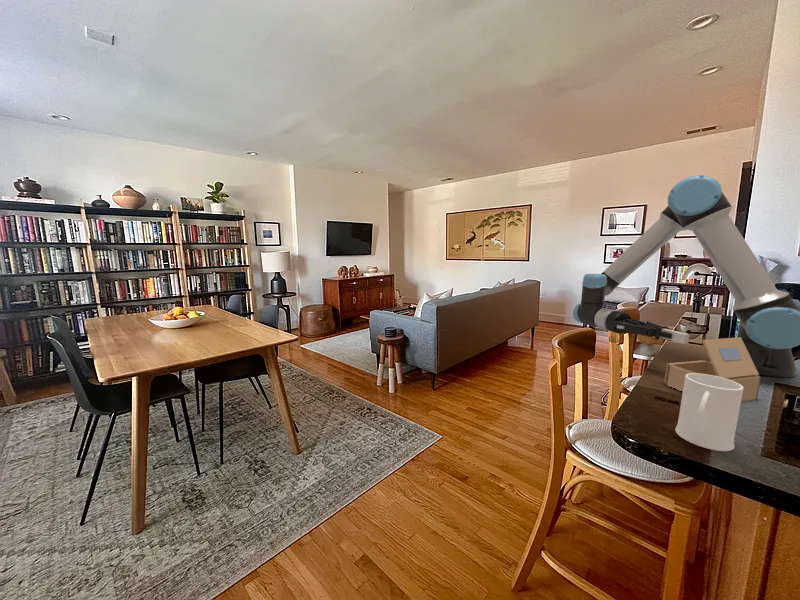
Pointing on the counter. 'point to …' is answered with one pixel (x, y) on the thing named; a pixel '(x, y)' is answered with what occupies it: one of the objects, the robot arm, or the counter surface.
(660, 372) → the counter surface
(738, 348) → the flap
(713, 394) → the mug
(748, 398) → the carton
